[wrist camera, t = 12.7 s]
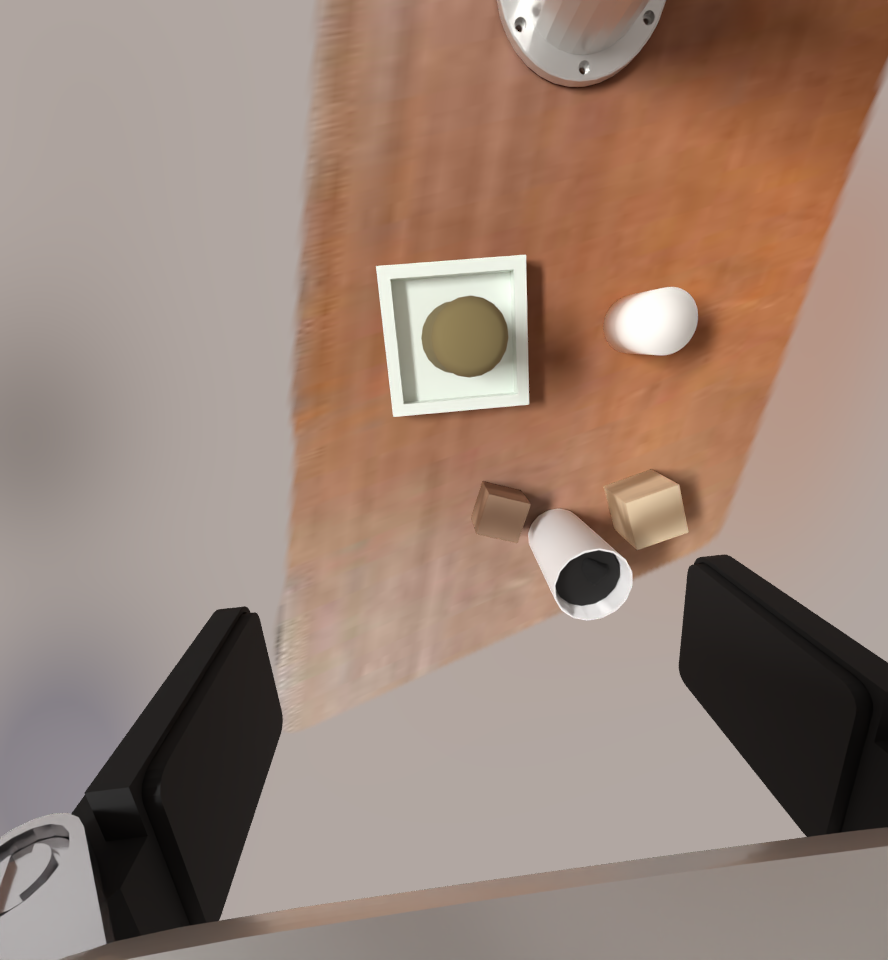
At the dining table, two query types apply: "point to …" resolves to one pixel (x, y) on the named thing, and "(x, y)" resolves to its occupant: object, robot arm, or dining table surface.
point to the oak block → (646, 509)
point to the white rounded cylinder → (651, 322)
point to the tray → (406, 310)
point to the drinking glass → (579, 565)
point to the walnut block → (500, 512)
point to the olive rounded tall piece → (465, 336)
